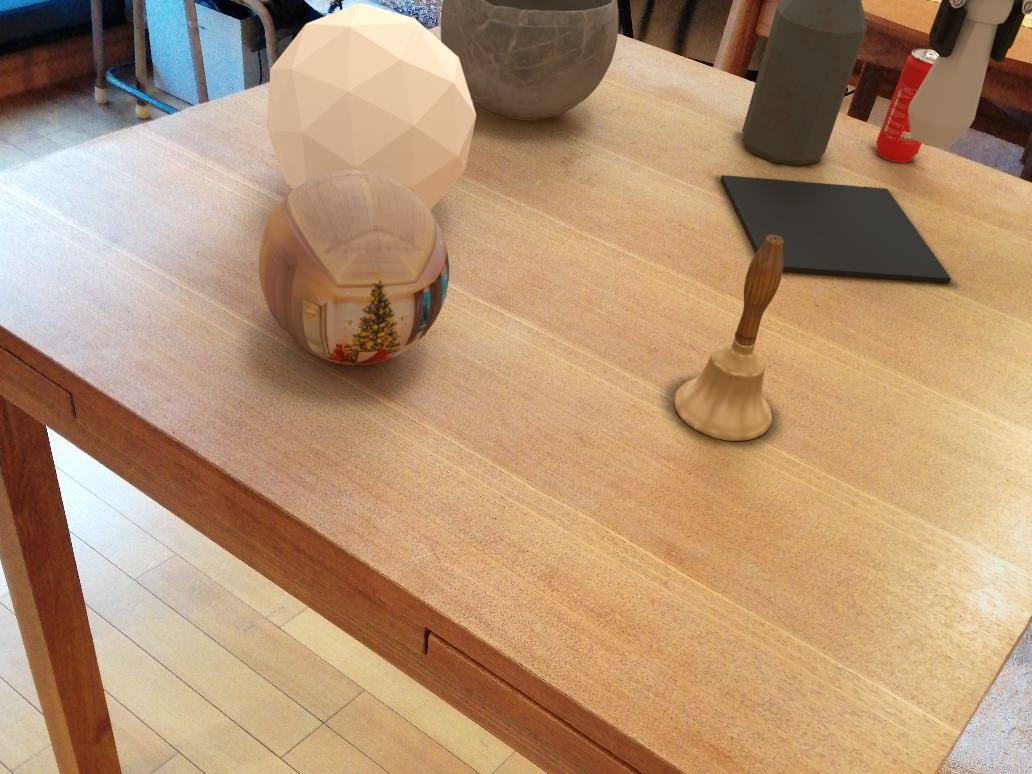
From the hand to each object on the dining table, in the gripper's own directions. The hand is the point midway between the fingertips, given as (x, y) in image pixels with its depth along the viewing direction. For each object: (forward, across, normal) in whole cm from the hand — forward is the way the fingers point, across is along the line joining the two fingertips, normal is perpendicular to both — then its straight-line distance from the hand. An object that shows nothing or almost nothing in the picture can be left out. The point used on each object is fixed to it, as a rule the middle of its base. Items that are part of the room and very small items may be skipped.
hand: (965, 51), depth 95 cm
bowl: (+23, -32, +37) cm, 54 cm away
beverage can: (+23, +14, +32) cm, 42 cm away
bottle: (+23, -1, +31) cm, 39 cm away
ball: (+23, -51, +8) cm, 57 cm away
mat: (+23, -1, +11) cm, 26 cm away
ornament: (+23, -53, -16) cm, 59 cm away
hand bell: (+23, -22, -22) cm, 39 cm away
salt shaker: (+8, 0, 0) cm, 8 cm away
